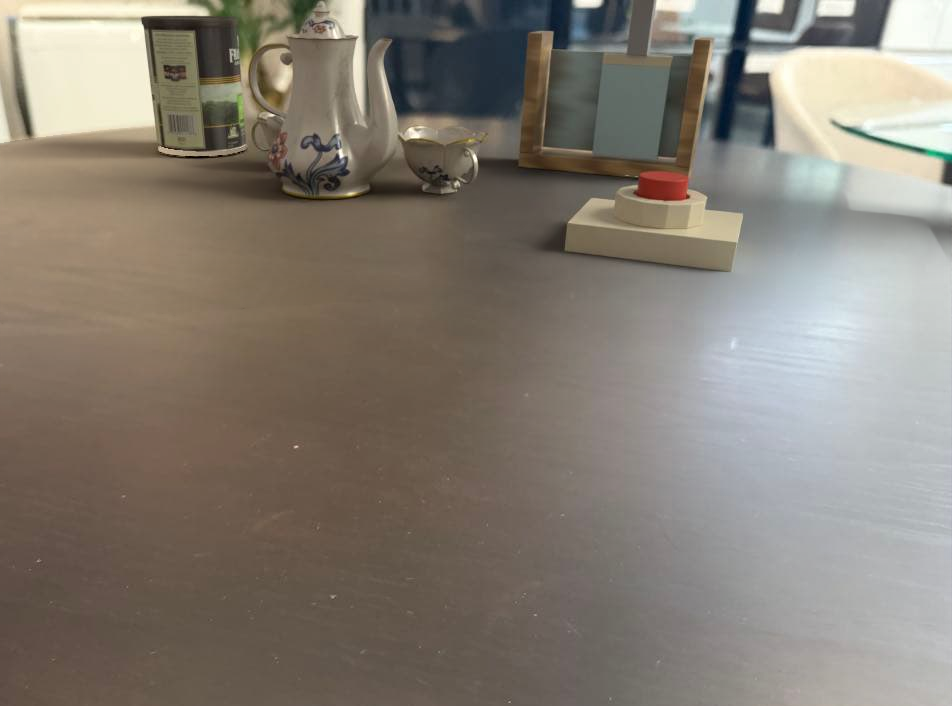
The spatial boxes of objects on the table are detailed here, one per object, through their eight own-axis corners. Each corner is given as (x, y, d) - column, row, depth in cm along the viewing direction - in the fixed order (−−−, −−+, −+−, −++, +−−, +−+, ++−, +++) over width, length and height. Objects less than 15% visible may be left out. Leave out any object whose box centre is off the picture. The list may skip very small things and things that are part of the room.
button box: (738, 240, 66) (748, 190, 65) (731, 272, 59) (742, 216, 57) (588, 223, 70) (593, 175, 69) (564, 251, 63) (569, 198, 61)
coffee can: (244, 141, 103) (235, 15, 97) (249, 157, 94) (240, 19, 88) (157, 143, 101) (143, 14, 94) (154, 159, 92) (138, 18, 85)
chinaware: (505, 201, 84) (524, 19, 78) (434, 220, 70) (450, 0, 64) (275, 170, 95) (276, 9, 89) (174, 182, 81) (167, -9, 75)
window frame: (692, 174, 90) (714, 37, 84) (687, 182, 86) (711, 39, 80) (529, 159, 96) (540, 30, 90) (518, 166, 92) (528, 32, 86)
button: (687, 197, 64) (691, 173, 63) (682, 207, 61) (686, 182, 60) (640, 192, 65) (643, 169, 64) (632, 201, 62) (636, 178, 61)
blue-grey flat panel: (658, 158, 88) (685, -23, 80) (656, 160, 87) (683, -23, 79) (594, 152, 90) (614, -24, 83) (591, 155, 89) (611, -24, 81)
